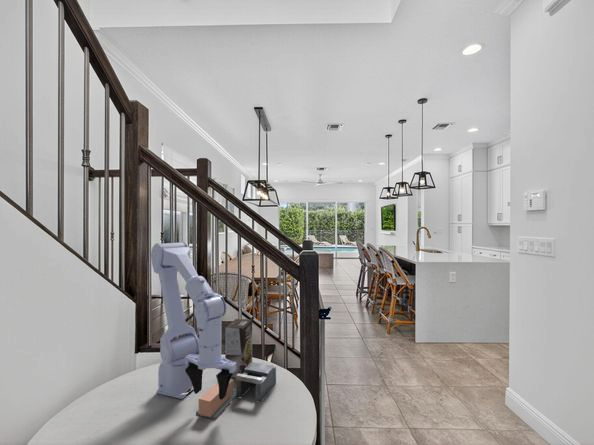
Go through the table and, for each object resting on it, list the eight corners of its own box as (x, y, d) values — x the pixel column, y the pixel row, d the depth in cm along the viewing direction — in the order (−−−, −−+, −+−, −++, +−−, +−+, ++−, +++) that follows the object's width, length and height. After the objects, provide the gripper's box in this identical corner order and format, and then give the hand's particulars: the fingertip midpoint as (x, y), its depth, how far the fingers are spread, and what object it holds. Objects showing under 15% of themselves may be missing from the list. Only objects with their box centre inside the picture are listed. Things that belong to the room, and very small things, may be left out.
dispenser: (236, 397, 86) (236, 375, 85) (253, 377, 96) (253, 358, 96) (260, 402, 83) (260, 380, 83) (276, 382, 94) (276, 362, 93)
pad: (196, 414, 78) (196, 412, 78) (221, 389, 89) (221, 387, 89) (215, 419, 76) (215, 416, 76) (239, 393, 87) (239, 391, 87)
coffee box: (243, 379, 95) (243, 328, 95) (224, 376, 97) (224, 327, 97) (253, 365, 104) (253, 319, 104) (235, 363, 106) (235, 318, 105)
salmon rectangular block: (198, 414, 77) (198, 398, 77) (222, 391, 88) (222, 377, 87) (210, 417, 76) (210, 401, 76) (233, 393, 86) (233, 379, 86)
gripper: (177, 345, 77) (177, 397, 77) (226, 353, 73) (225, 409, 73) (194, 335, 84) (194, 383, 84) (240, 342, 79) (240, 393, 80)
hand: (210, 394), depth 79 cm, fingers open, 7 cm apart
